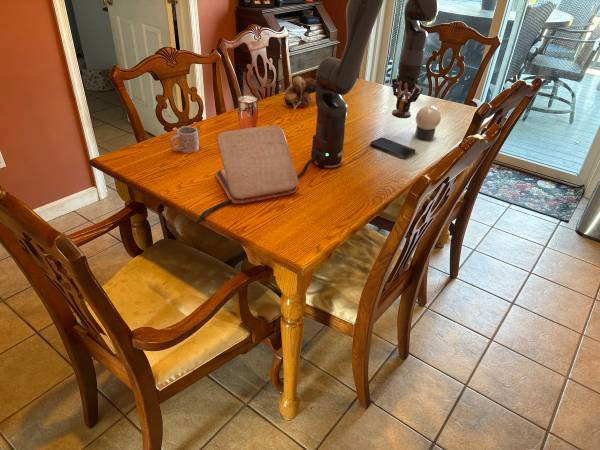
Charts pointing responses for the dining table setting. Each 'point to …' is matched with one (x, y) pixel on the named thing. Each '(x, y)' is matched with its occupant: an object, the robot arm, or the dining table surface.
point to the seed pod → (300, 92)
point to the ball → (428, 118)
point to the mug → (186, 140)
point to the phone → (393, 148)
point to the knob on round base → (401, 111)
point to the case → (256, 164)
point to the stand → (424, 134)
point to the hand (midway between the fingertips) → (402, 110)
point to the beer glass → (247, 111)
